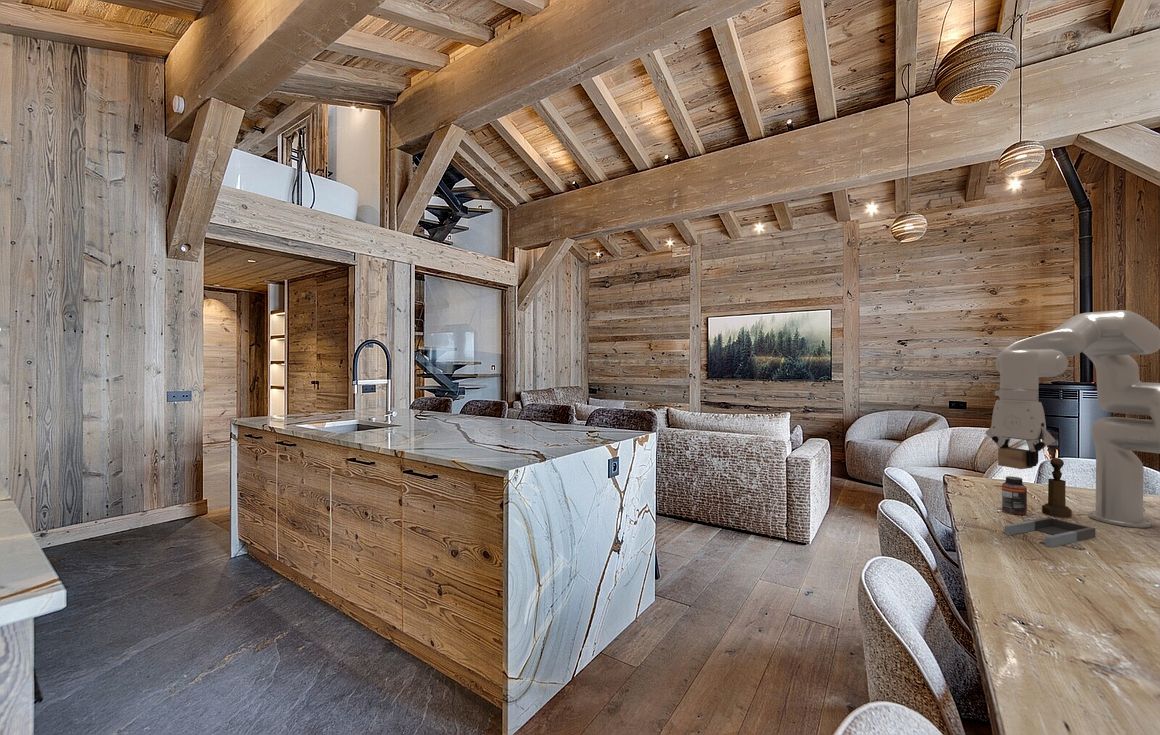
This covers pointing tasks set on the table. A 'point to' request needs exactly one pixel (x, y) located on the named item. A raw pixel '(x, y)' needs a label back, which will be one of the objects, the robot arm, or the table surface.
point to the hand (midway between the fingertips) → (1018, 463)
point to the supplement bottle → (1014, 496)
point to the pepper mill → (1056, 493)
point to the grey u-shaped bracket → (1053, 530)
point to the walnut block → (1013, 458)
